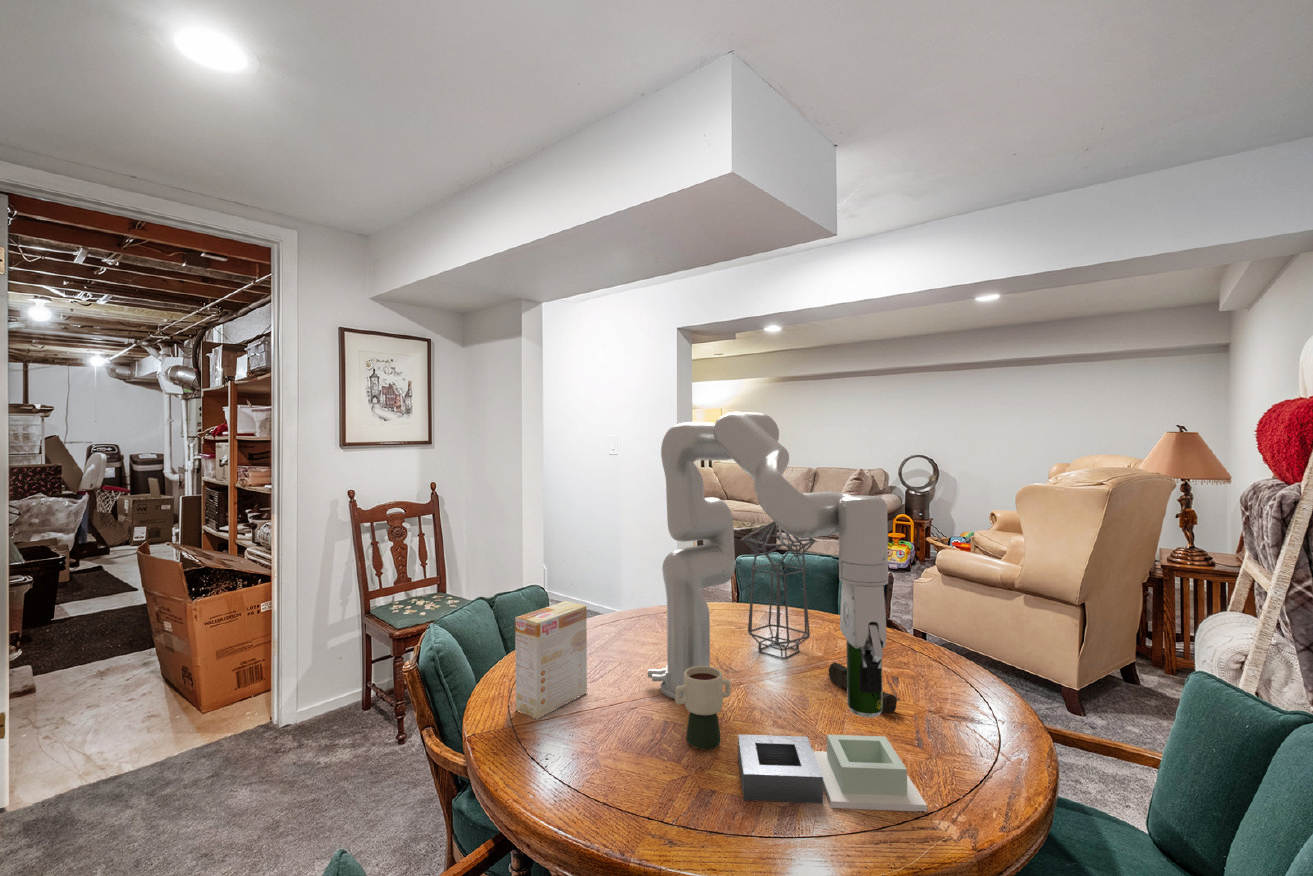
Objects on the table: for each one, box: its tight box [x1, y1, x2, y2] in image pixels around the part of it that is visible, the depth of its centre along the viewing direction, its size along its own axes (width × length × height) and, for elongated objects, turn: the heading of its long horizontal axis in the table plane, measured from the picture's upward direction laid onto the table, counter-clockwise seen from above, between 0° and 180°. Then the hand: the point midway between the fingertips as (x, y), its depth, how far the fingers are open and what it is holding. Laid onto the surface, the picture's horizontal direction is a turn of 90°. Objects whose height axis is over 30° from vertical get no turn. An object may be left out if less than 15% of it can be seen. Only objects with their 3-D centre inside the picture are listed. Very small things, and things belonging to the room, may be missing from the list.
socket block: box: [737, 733, 824, 804], centre depth 92 cm, size 12×12×4 cm
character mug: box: [674, 665, 731, 751], centre depth 103 cm, size 11×7×13 cm, turn 108°
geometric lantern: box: [741, 520, 818, 660], centre depth 150 cm, size 16×16×35 cm
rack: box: [813, 734, 928, 813], centre depth 91 cm, size 14×14×5 cm
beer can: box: [846, 639, 883, 718], centre depth 92 cm, size 5×5×12 cm
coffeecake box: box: [514, 600, 588, 720], centre depth 120 cm, size 15×7×20 cm, turn 145°
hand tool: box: [828, 662, 898, 715], centre depth 124 cm, size 19×4×5 cm, turn 19°
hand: (864, 682), depth 92 cm, fingers closed on beer can, 5 cm apart
